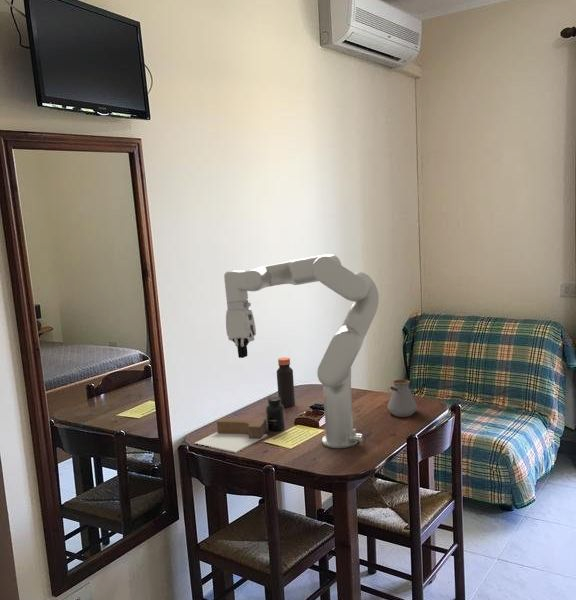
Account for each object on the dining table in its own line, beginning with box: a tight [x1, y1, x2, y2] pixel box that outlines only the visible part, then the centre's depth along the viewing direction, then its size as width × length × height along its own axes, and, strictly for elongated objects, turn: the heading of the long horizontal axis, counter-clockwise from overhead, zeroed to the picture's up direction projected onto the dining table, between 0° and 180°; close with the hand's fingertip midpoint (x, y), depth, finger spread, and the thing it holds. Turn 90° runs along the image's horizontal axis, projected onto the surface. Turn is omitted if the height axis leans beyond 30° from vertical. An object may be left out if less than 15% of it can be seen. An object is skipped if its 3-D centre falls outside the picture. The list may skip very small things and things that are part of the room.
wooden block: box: [216, 417, 268, 439], centre depth 224 cm, size 9×4×18 cm
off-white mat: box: [194, 431, 268, 454], centre depth 220 cm, size 19×18×1 cm
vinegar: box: [276, 357, 296, 408], centre depth 256 cm, size 7×7×20 cm
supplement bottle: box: [265, 396, 286, 433], centre depth 228 cm, size 7×7×12 cm
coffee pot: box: [387, 378, 418, 418], centre depth 232 cm, size 21×12×15 cm, turn 155°
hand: (243, 356), depth 216 cm, fingers closed
